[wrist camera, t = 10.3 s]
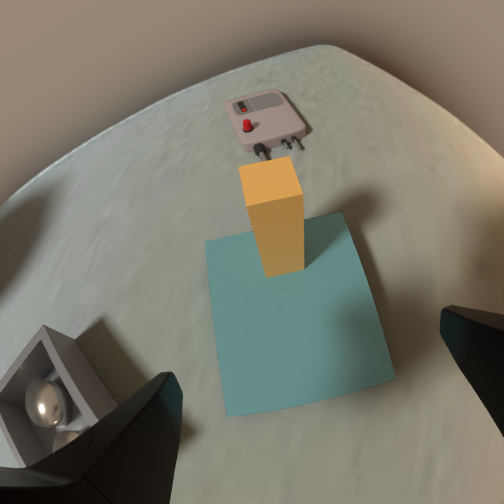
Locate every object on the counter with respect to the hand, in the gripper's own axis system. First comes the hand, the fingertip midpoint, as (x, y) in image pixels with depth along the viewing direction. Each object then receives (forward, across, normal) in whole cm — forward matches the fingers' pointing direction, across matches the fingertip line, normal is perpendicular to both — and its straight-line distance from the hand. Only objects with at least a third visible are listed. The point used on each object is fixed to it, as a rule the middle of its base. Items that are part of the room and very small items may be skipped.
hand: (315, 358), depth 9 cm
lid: (+11, 0, +4) cm, 11 cm away
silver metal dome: (+7, +20, +7) cm, 22 cm away
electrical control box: (+26, -2, -10) cm, 28 cm away
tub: (+6, +18, +9) cm, 21 cm away
